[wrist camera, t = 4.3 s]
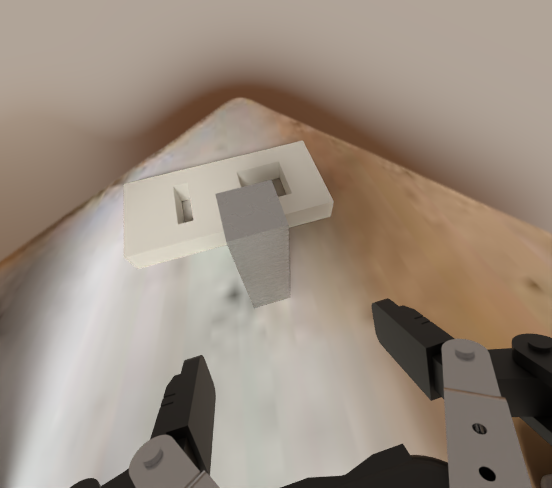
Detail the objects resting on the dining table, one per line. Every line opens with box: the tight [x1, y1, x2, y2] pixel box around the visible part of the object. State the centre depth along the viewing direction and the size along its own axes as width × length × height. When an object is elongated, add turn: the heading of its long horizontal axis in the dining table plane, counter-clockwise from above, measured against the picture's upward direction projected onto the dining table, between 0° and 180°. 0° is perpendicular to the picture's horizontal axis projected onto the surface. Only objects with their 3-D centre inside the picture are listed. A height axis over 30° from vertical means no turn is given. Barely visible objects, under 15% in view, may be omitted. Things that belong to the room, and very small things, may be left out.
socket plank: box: [123, 141, 334, 269], centre depth 34 cm, size 24×11×3 cm, turn 106°
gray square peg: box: [215, 180, 290, 308], centre depth 24 cm, size 4×4×14 cm
